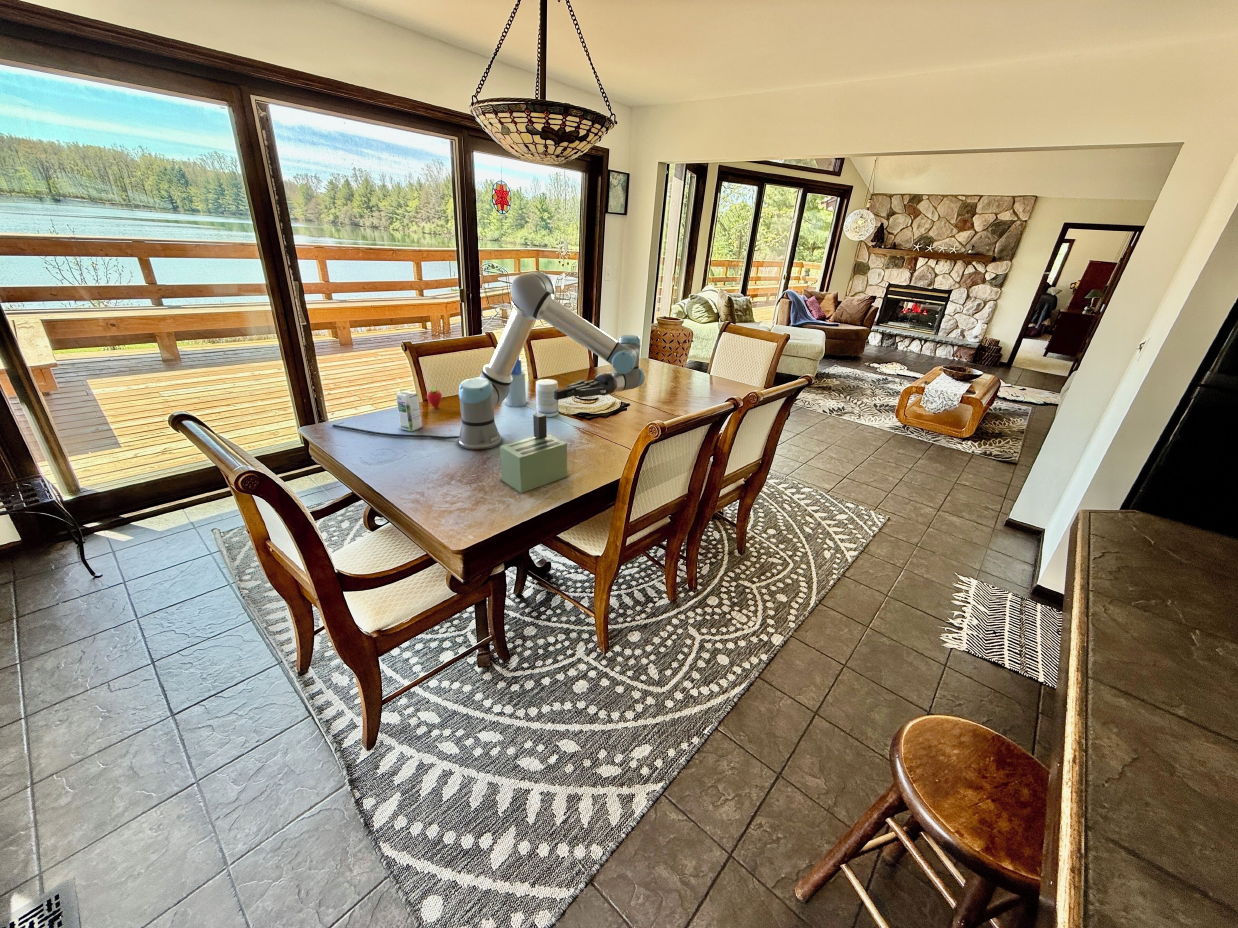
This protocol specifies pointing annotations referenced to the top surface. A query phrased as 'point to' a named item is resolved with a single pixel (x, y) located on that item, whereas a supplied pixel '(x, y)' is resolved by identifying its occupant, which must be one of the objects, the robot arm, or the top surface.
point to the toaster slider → (540, 426)
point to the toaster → (533, 462)
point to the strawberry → (434, 397)
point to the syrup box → (408, 410)
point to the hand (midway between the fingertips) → (555, 395)
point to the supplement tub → (546, 397)
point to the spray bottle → (517, 387)
